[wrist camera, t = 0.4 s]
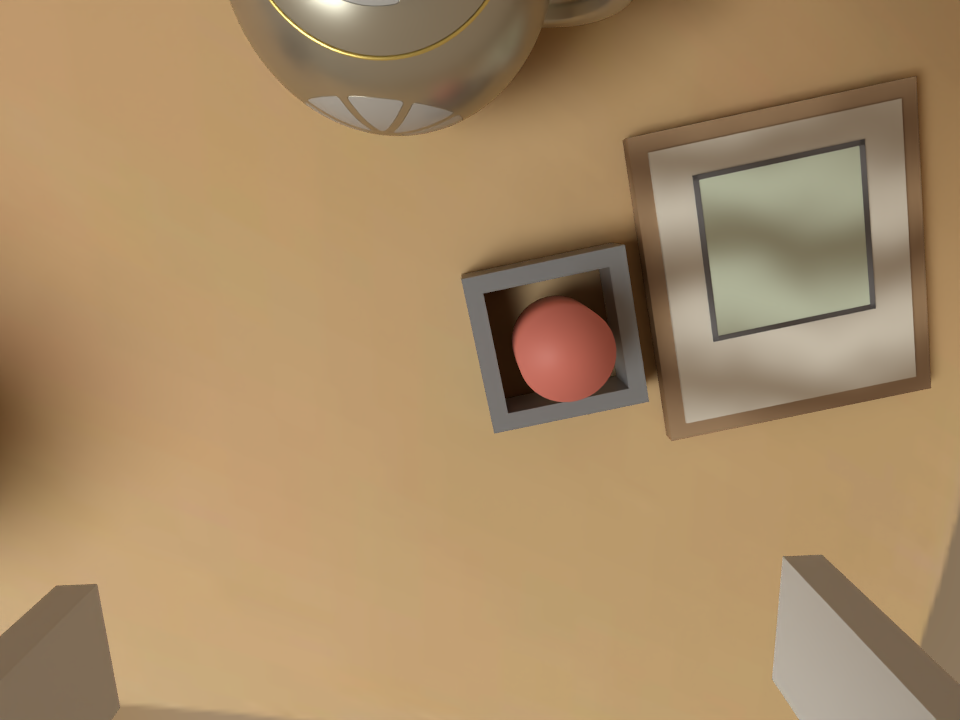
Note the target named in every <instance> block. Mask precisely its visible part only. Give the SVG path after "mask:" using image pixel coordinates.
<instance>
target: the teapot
mask: <svg viewBox="0 0 960 720" xmlns="http://www.w3.org/2000/svg"><path fill="white" fill-rule="evenodd" d="M631 1H632V0H230V3H231V5H232V8H233V10H234V13H235V15H236V17H237V20H238V22H239V24H240V26H241V28H242V30H243V32H244V34H245V35H246V37H247V39H248V41H249V42H250V44H251V46H252V47H253V49H254V50H255V52H256V53H257V55H258V56H259V58H260V59H261V60H262V62H263V63H264V64H265V66H266V67H267V68H268V69H269V70H270V72H271V73H272V74H273V75H274V76H275V77H276V78H277V79H278V81H279V82H280V83H281V84H282V85H283V86H284V87H285V88H286V89H288V90H289V91H290V92H291V93H292V94H293V95H294V96H296V97H297V98H298V99H299V100H301V101H302V102H303V103H305V104H306V105H307V106H309V107H310V108H312V109H313V110H315V111H316V112H318V113H320V114H321V115H323V116H325V117H327V118H329V119H331V120H333V121H335V122H337V123H339V124H342V125H344V126H347V127H350V128H353V129H356V130H360V131H363V132H368V133H373V134H379V135H388V136H409V135H418V134H425V133H429V132H433V131H437V130H441V129H444V128H447V127H449V126H452V125H454V124H456V123H459V122H461V121H463V120H464V119H466V118H468V117H470V116H471V115H473V114H475V113H476V112H478V111H479V110H481V109H482V108H484V107H485V106H486V105H487V104H489V103H490V102H491V101H492V100H493V99H495V98H496V97H497V96H498V95H499V94H500V93H501V92H502V91H503V90H504V89H505V88H506V87H507V85H508V84H509V83H510V82H511V81H512V80H513V78H514V77H515V76H516V74H517V73H518V71H519V70H520V69H521V67H522V66H523V64H524V63H525V61H526V59H527V58H528V56H529V54H530V52H531V51H532V49H533V47H534V45H535V42H536V40H537V38H538V36H539V33H540V31H541V28H555V27H570V26H578V25H584V24H589V23H593V22H597V21H600V20H603V19H605V18H608V17H610V16H612V15H614V14H616V13H618V12H620V11H621V10H623V9H624V8H625V7H626V6H627V5H628V4H629V3H630V2H631Z"/></svg>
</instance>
